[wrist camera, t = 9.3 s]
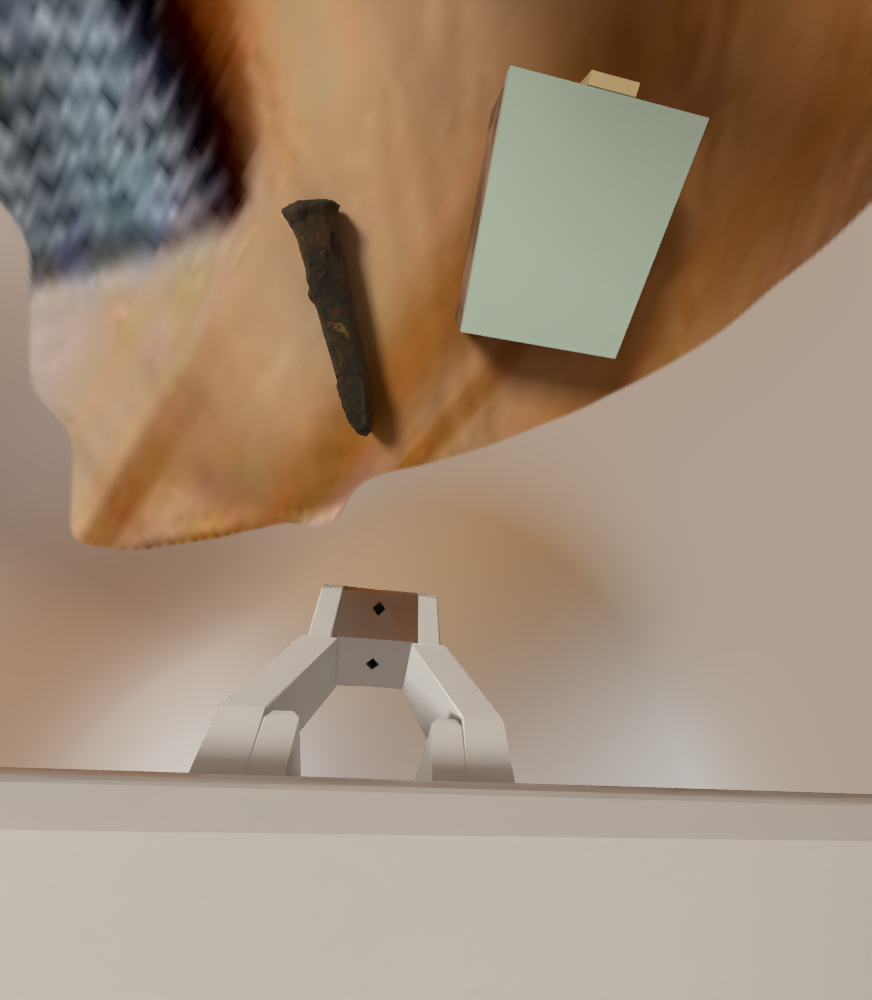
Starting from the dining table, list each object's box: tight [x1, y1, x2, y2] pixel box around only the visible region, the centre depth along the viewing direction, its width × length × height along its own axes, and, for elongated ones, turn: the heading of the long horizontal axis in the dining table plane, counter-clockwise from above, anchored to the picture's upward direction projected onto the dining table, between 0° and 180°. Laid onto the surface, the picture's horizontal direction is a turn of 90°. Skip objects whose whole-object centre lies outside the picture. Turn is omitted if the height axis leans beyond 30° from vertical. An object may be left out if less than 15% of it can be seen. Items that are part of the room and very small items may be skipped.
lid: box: [460, 65, 709, 359], centre depth 27 cm, size 15×12×3 cm
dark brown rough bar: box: [282, 199, 373, 436], centre depth 34 cm, size 19×4×5 cm, turn 5°
